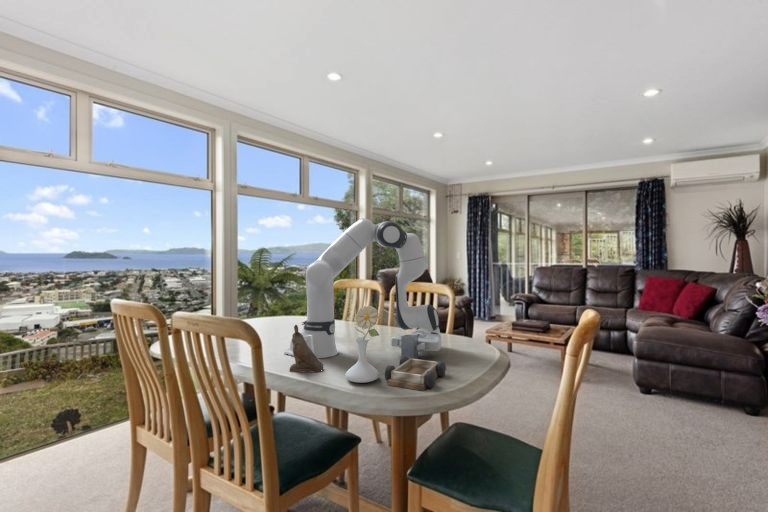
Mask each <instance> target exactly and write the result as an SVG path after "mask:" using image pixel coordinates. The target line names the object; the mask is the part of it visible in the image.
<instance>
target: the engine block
mask: <svg viewBox="0 0 768 512" xmlns="http://www.w3.org/2000/svg"><path fill="white" fill-rule="evenodd" d="M403 335H404V336H402V337H401V348H400V350H401V357H402V356H404V357H408V360H409V359H410V358H412V359H419V351H418V350H415V345H418V336H416V335H411V334H403ZM401 357H400V358H401Z"/></svg>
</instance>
